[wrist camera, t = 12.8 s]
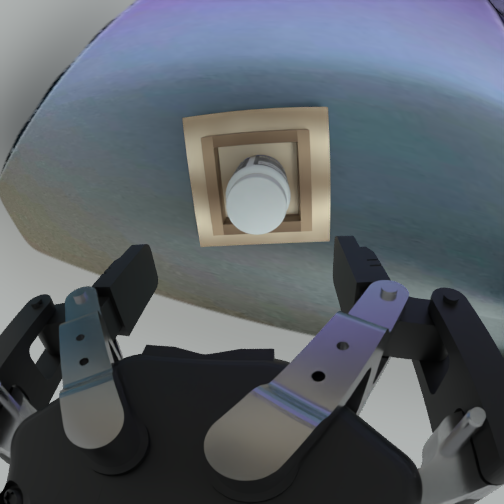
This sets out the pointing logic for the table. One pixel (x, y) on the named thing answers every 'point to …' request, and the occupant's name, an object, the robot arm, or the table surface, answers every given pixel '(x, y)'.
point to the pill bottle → (258, 195)
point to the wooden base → (261, 143)
